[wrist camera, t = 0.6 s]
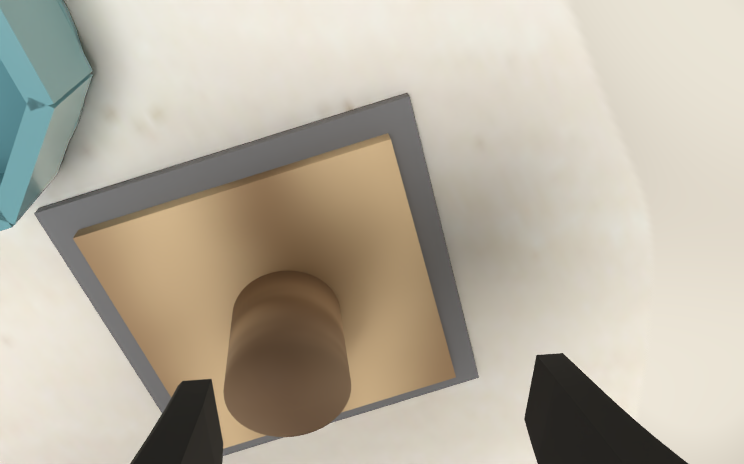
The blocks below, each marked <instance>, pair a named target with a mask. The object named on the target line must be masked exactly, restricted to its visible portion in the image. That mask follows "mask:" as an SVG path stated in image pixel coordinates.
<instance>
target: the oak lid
mask: <svg viewBox="0 0 744 464" xmlns="http://www.w3.org/2000/svg"><path fill="white" fill-rule="evenodd" d="M73 240H74V241H75V243H76V244H77V246H78V248H79V249H80V251H81V252H82V254H83V256H84V257H85V259H86V261H87V262H88V264H89V265H90V267H91V269H92V270H93V272H94V273H95V275H96V277H97V278H98V280H99V282H100V283H101V285H102V286H103V288H104V290H105V291H106V293H107V294H108V296H109V298H110V299H111V301H112V303H113V304H114V306H115V307H116V309H117V311H118V312H119V314H120V315H121V317H122V319H123V320H124V322H125V324H126V325H127V327H128V328H129V330H130V332H131V333H132V335H133V336H134V338H135V340H136V341H137V343H138V345H139V346H140V348H141V349H142V351H143V353H144V354H145V356H146V357H147V359H148V361H149V362H150V364H151V366H152V367H153V369H154V370H155V372H156V374H157V375H158V377H159V378H160V380H161V382H162V383H163V385H164V387H165V388H166V390H167V391H168V393H169V395H170V396H171V397H172V396H173V394H174V392H175V390H176V388H177V386H178V385H179V384H180V383H181V382H182V381H188V380H202V379H212V384H213V390H214V395H215V400H216V406H217V411H218V417H219V422H220V428H221V433H222V439H223V449H224V448H227V447H231V446H234V445H237V444H240V443H244V442H247V441H250V440H253V439H257V438H260V437H263V436H266V435H268V436H274V437H294V436H300V435H304V434H308V433H311V432H314V431H316V430H318V429H321V428H323V427H324V426H326V425H328V424H329V423H330V422H332V421H333V420H334V419H335V418H336V417H337V416H338V415H339V414H340V413H341V412H345V411H348V410H351V409H354V408H358V407H361V406H364V405H368V404H371V403H374V402H377V401H381V400H384V399H387V398H390V397H394V396H397V395H400V394H403V393H407V392H410V391H413V390H416V389H420V388H423V387H426V386H429V385H433V384H436V383H439V382H443V381H446V380H449V379H452V378H456V375H455V372H454V368H453V364H452V361H451V357H450V354H449V350H448V346H447V343H446V339H445V335H444V332H443V328H442V324H441V321H440V317H439V313H438V310H437V306H436V302H435V299H434V295H433V291H432V288H431V284H430V280H429V277H428V273H427V270H426V266H425V262H424V259H423V255H422V251H421V248H420V244H419V240H418V237H417V233H416V229H415V226H414V222H413V218H412V215H411V211H410V207H409V204H408V200H407V196H406V193H405V189H404V186H403V182H402V178H401V175H400V171H399V167H398V164H397V160H396V156H395V153H394V149H393V145H392V142H391V139H390V136H389V134H388V133H387V134H384V135H381V136H377V137H374V138H371V139H368V140H365V141H361V142H358V143H355V144H352V145H349V146H345V147H342V148H339V149H336V150H333V151H329V152H326V153H323V154H320V155H317V156H313V157H310V158H307V159H304V160H301V161H297V162H294V163H291V164H288V165H285V166H281V167H278V168H275V169H272V170H269V171H265V172H262V173H259V174H256V175H253V176H249V177H246V178H243V179H240V180H236V181H233V182H230V183H227V184H224V185H220V186H217V187H214V188H211V189H208V190H204V191H201V192H198V193H195V194H192V195H188V196H185V197H182V198H179V199H176V200H172V201H169V202H166V203H163V204H160V205H156V206H153V207H150V208H147V209H144V210H140V211H137V212H134V213H131V214H128V215H124V216H121V217H118V218H115V219H112V220H108V221H105V222H102V223H99V224H96V225H92V226H89V227H86V228H83V229H80V230H78V231H77V233H76V234H75V236H74V237H73Z"/></svg>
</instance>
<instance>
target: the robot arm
mask: <svg viewBox="0 0 744 464" xmlns="http://www.w3.org/2000/svg"><path fill="white" fill-rule="evenodd" d="M525 423H526V426H527V430H528V433H529V437H530V440H531V444H532V447H533V450H534V453H535V456H536V459H537V463H538V464H688V463H687V462H685V461H684V460H683V459H681V458H680V457H679V456H678V455H676V454H675V453H674V452H673V451H671V450H670V449H669V448H668V447H666V446H665V445H664V444H662V443H661V442H660V441H659V440H658V439H656V438H655V437H654V436H653V435H652V434H651V433H649V432H648V431H647V430H646V429H645V428H643V427H642V426H641V425H640V424H639V423H638V422H636V421H635V420H634V419H633V418H632V417H631V416H630V415H629V414H627V413H626V412H625V411H624V410H623V409H622V408H621V407H620V406H618V405H617V404H616V403H615V402H614V401H613V400H612V399H611V398H610V397H609V396H608V395H606V394H605V393H604V392H603V391H602V390H601V389H600V388H599V387H598V386H597V385H596V384H595V383H594V382H593V381H592V380H590V379H589V378H588V377H587V376H586V375H585V374H584V373H583V372H582V371H581V370H580V369H579V368H578V367H577V366H576V365H575V364H574V363H573V362H571V361H570V360H569V359H568V358H567V357H566V356H565V355H564V354H563V353H560V354H546V355H537V356H536V361H535V366H534V371H533V377H532V382H531V387H530V392H529V398H528V403H527V408H526V413H525ZM222 458H223V439H222V433H221V428H220V422H219V417H218V411H217V406H216V400H215V395H214V390H213V384H212V379H202V380H188V381H182V382H181V383H180V384H179V385H178V386H177V388H176V390H175V392H174V394H173V396H172V397H171V399H170V401H169V403H168V404H167V406H166V408H165V410H164V411H163V413H162V415H161V416H160V418H159V420H158V421H157V423H156V425H155V426H154V428H153V430H152V431H151V433H150V434H149V436H148V438H147V439H146V441H145V442H144V444H143V445H142V447H141V448H140V450H139V451H138V453H137V454H136V456H135V457H134V459H133V460H132V462H131V463H130V464H222Z"/></svg>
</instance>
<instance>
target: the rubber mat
mask: <svg viewBox="0 0 744 464" xmlns="http://www.w3.org/2000/svg"><path fill="white" fill-rule="evenodd" d="M387 133H388V134H389V136H390V139H391V142H392V145H393V149H394V153H395V156H396V160H397V164H398V167H399V171H400V175H401V178H402V182H403V186H404V189H405V193H406V196H407V200H408V204H409V207H410V211H411V215H412V218H413V222H414V226H415V229H416V233H417V237H418V240H419V244H420V248H421V251H422V255H423V259H424V262H425V266H426V270H427V273H428V277H429V280H430V284H431V288H432V291H433V295H434V299H435V302H436V306H437V310H438V313H439V317H440V321H441V324H442V328H443V332H444V335H445V339H446V343H447V346H448V350H449V354H450V357H451V361H452V364H453V368H454V372H455V375H456V378H452V379H449V380H446V381H443V382H439V383H436V384H433V385H429V386H426V387H423V388H420V389H416V390H413V391H410V392H407V393H403V394H400V395H397V396H394V397H390V398H387V399H384V400H381V401H377V402H374V403H371V404H368V405H364V406H361V407H358V408H354V409H351V410H348V411H345V412H341V413H340V414H339V415H338V416H337V417H336V418H335V419H334V420H333V421H332V422H335V421H339V420H342V419H345V418H348V417H352V416H355V415H358V414H361V413H365V412H368V411H371V410H375V409H378V408H381V407H384V406H388V405H391V404H394V403H397V402H401V401H404V400H407V399H410V398H414V397H417V396H420V395H423V394H427V393H430V392H433V391H437V390H440V389H443V388H446V387H450V386H453V385H456V384H459V383H463V382H466V381H469V380H472V379H476V378H479V376H478V372H477V368H476V364H475V360H474V356H473V352H472V348H471V344H470V340H469V336H468V332H467V327H466V323H465V319H464V315H463V311H462V307H461V303H460V299H459V295H458V291H457V287H456V283H455V279H454V275H453V271H452V267H451V263H450V259H449V255H448V251H447V247H446V243H445V238H444V234H443V230H442V226H441V222H440V218H439V214H438V210H437V206H436V202H435V198H434V194H433V190H432V186H431V182H430V178H429V174H428V170H427V166H426V162H425V158H424V154H423V150H422V145H421V141H420V137H419V133H418V129H417V125H416V121H415V117H414V113H413V109H412V105H411V101H410V97H409V95H408V94H407V93H406V94H403V95H399V96H396V97H393V98H390V99H387V100H384V101H380V102H377V103H374V104H371V105H368V106H364V107H361V108H358V109H355V110H352V111H348V112H345V113H342V114H339V115H336V116H332V117H329V118H326V119H323V120H320V121H316V122H313V123H310V124H307V125H304V126H300V127H297V128H294V129H291V130H288V131H284V132H281V133H278V134H275V135H272V136H268V137H265V138H262V139H259V140H256V141H253V142H249V143H246V144H243V145H240V146H237V147H233V148H230V149H227V150H224V151H221V152H217V153H214V154H211V155H208V156H205V157H201V158H198V159H195V160H192V161H189V162H185V163H182V164H179V165H176V166H173V167H169V168H166V169H163V170H160V171H157V172H153V173H150V174H147V175H144V176H141V177H137V178H134V179H131V180H128V181H125V182H122V183H118V184H115V185H112V186H109V187H106V188H102V189H99V190H96V191H93V192H90V193H86V194H83V195H80V196H77V197H74V198H70V199H67V200H64V201H61V202H58V203H54V204H51V205H48V206H45V207H42V208H39V209H38V210H37V211H36V212H35V213H34V214H35V216H36V217H37V219H38V220H39V222H40V223H41V225H42V227H43V228H44V230H45V231H46V233H47V234H48V236H49V238H50V239H51V241H52V242H53V244H54V245H55V247H56V248H57V250H58V252H59V253H60V255H61V256H62V258H63V259H64V261H65V262H66V264H67V266H68V267H69V269H70V270H71V272H72V273H73V275H74V276H75V278H76V280H77V281H78V283H79V284H80V286H81V287H82V289H83V290H84V292H85V294H86V295H87V297H88V298H89V300H90V301H91V303H92V305H93V306H94V308H95V309H96V311H97V312H98V314H99V315H100V317H101V319H102V320H103V322H104V323H105V325H106V326H107V328H108V329H109V331H110V333H111V334H112V336H113V337H114V339H115V340H116V342H117V343H118V345H119V347H120V348H121V350H122V351H123V353H124V354H125V356H126V358H127V359H128V361H129V362H130V364H131V365H132V367H133V368H134V370H135V372H136V373H137V375H138V376H139V378H140V379H141V381H142V382H143V384H144V386H145V387H146V389H147V390H148V392H149V393H150V395H151V396H152V398H153V400H154V401H155V403H156V404H157V406H158V407H159V409H160V411H161V412H162V413H163V411H164V410H165V408H166V406H167V404H168V403H169V401H170V399H171V396H170V395H169V393H168V391H167V390H166V388H165V387H164V385H163V383H162V382H161V380H160V378H159V377H158V375H157V374H156V372H155V370H154V369H153V367H152V366H151V364H150V362H149V361H148V359H147V357H146V356H145V354H144V353H143V351H142V349H141V348H140V346H139V345H138V343H137V341H136V340H135V338H134V336H133V335H132V333H131V332H130V330H129V328H128V327H127V325H126V324H125V322H124V320H123V319H122V317H121V315H120V314H119V312H118V311H117V309H116V307H115V306H114V304H113V303H112V301H111V299H110V298H109V296H108V294H107V293H106V291H105V290H104V288H103V286H102V285H101V283H100V282H99V280H98V278H97V277H96V275H95V273H94V272H93V270H92V269H91V267H90V265H89V264H88V262H87V261H86V259H85V257H84V256H83V254H82V252H81V251H80V249H79V248H78V246H77V244H76V243H75V241H74V240H73V237H74V236H75V234H76V233H77V231H78V230H80V229H83V228H86V227H89V226H92V225H96V224H99V223H102V222H105V221H108V220H112V219H115V218H118V217H121V216H124V215H128V214H131V213H134V212H137V211H140V210H144V209H147V208H150V207H153V206H156V205H160V204H163V203H166V202H169V201H172V200H176V199H179V198H182V197H185V196H188V195H192V194H195V193H198V192H201V191H204V190H208V189H211V188H214V187H217V186H220V185H224V184H227V183H230V182H233V181H236V180H240V179H243V178H246V177H249V176H253V175H256V174H259V173H262V172H265V171H269V170H272V169H275V168H278V167H281V166H285V165H288V164H291V163H294V162H297V161H301V160H304V159H307V158H310V157H313V156H317V155H320V154H323V153H326V152H329V151H333V150H336V149H339V148H342V147H345V146H349V145H352V144H355V143H358V142H361V141H365V140H368V139H371V138H374V137H377V136H381V135H384V134H387ZM332 422H330V423H332ZM280 438H283V437H274V436H268V435H266V436H263V437H260V438H257V439H253V440H250V441H247V442H244V443H240V444H237V445H234V446H231V447H227V448H224V449H223V456H224V455H228V454H231V453H234V452H238V451H241V450H244V449H247V448H251V447H254V446H257V445H260V444H264V443H267V442H270V441H273V440H277V439H280Z"/></svg>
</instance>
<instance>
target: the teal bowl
mask: <svg viewBox="0 0 744 464" xmlns="http://www.w3.org/2000/svg"><path fill="white" fill-rule="evenodd" d="M92 71H93V70H92V68H91V66H90V64H89V62H88V60H87V58H86V56H85V54H84V52H83V50H82V46H81V42H80V39H79V36H78V32H77V29H76V26H75V24H74V22H73V20H72V17H71V15H70V13H69V10H68V8H67V6H66V4H65V3H64V1H63V0H0V231H2V230H5V229H8V228H11V227H12V226H13V225H15V224H16V223H17V221H18V220H19V219H20V218H21V217H22V215H23V214H24V213H25V212H26V211H27V210H28V208H29V207H30V206H31V205H32V204H33V202H34V201H35V200H36V199H37V198H38V197H39V195H40V194H41V193H42V192H43V191H44V189H45V188H46V187H47V186H48V185H49V184H50V182H51V181H52V180H53V179H54V178H55V176H56V175H57V173H58V171H59V168H60V165H61V162H62V160H63V157H64V154H65V151H66V149H67V146H68V143H69V141H70V139H71V138H72V136H73V134H74V132H75V130H76V127H77V125H78V123H79V121H80V117H81V113H82V110H83V106H84V99H85V96H86V93H87V90H88V88H89V85H90V82H91V79H92V77H93V74H91V72H92Z"/></svg>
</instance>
